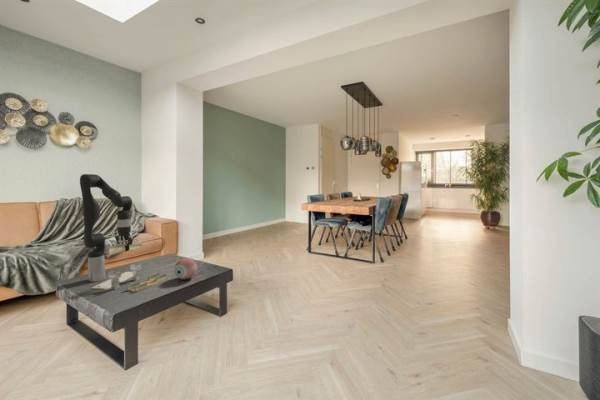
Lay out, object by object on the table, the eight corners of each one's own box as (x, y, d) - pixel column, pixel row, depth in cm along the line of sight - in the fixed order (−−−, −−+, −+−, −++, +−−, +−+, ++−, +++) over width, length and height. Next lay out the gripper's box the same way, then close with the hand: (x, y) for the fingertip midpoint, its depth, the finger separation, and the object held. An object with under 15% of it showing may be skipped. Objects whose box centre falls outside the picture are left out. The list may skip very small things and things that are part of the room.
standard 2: (130, 280, 186) (129, 265, 186) (134, 278, 190) (134, 263, 189) (137, 281, 185) (137, 265, 184) (142, 279, 188) (141, 264, 188)
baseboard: (141, 274, 201) (126, 273, 202) (141, 270, 200) (126, 269, 202) (108, 290, 170) (91, 289, 171) (108, 286, 170) (91, 285, 171)
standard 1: (109, 289, 171) (108, 272, 170) (114, 286, 174) (113, 270, 174) (116, 290, 169) (116, 273, 169) (121, 287, 173) (121, 271, 172)
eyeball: (169, 282, 183) (169, 261, 182) (182, 274, 198) (181, 255, 197) (189, 283, 181) (189, 262, 180) (200, 275, 196) (200, 256, 195)
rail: (105, 255, 167) (105, 248, 166) (137, 246, 190) (137, 239, 190) (110, 255, 166) (109, 248, 166) (141, 246, 189) (141, 240, 189)
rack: (125, 290, 169) (125, 286, 168) (157, 276, 194) (156, 272, 193) (136, 292, 166) (136, 287, 166) (167, 277, 191) (167, 273, 191)
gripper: (110, 226, 175) (111, 251, 176) (127, 227, 171) (128, 253, 173) (120, 224, 182) (121, 248, 183) (137, 225, 179) (137, 250, 180)
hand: (124, 250), depth 178 cm, fingers closed on rail, 3 cm apart
